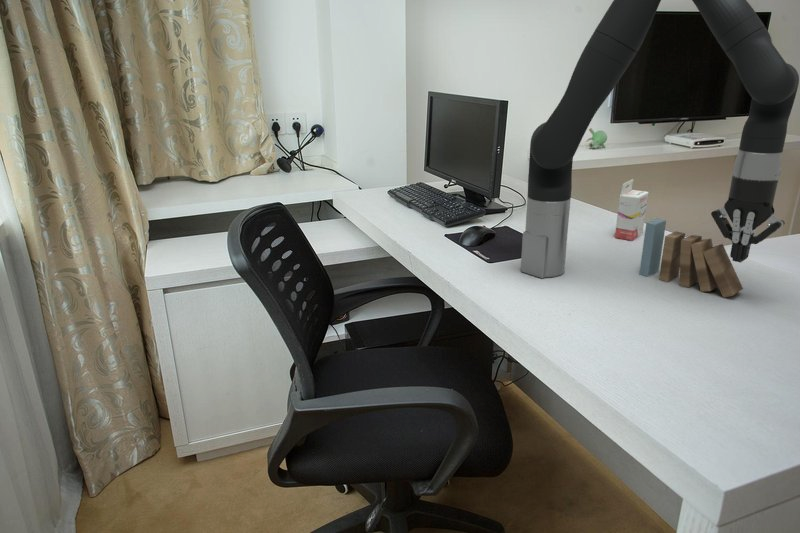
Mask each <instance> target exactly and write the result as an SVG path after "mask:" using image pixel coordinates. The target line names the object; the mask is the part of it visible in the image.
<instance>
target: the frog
mask: <svg viewBox="0 0 800 533" xmlns="http://www.w3.org/2000/svg"><path fill="white" fill-rule="evenodd" d="M588 131H589V132H590V133H591V135H592V137H590V138H588V139H587V140H586V141H585V142H586V143H587V142H589V141H590V142H589V143H588V145H589V147H590V148H591V149H592V150H594V149H595V150H596V149H598V147H599V146H601V147H602V148H603V149H606V147H607V146H606V145H605V143H606V142H607V141H608V134H607V133H606V131H603V130H597V131H596V132H595V131H594V130H593V129H592V128H591V127H590V128H589V129H588Z"/></svg>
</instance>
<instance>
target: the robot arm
mask: <svg viewBox="0 0 800 533" xmlns="http://www.w3.org/2000/svg"><path fill="white" fill-rule="evenodd" d="M661 1H662V0H613V1H612V2H611V3H610V6H609V7H608V9H607V10H606V12H605V13H604V15H603V16H602V19H601V20H600V22H599V23H598V24H597V26H596V28H595V29H594V31H593V33H592V35H591V36H590V38H589V40H588V41H587V43H586V45H585V47H584V49H583V50H582V51H581V52H582V53H581V54H580V56H579V59H578V61H577V62H576V65H575V66H574V69H573V72H572V74H571V76H570V80H569V82H568V85H567V86H566V90H565V91H564V94H563V96H562V98H561V100H560V101H559V103H558V104H557V106H555V109H554V110H553V112H552V113H551V115H550V116H549V117H548V119H547V120H546V121H544V122H543V123H541V124H540V125H539V126H537V127H536V128H535V129H534V131H533V132H532V135H531V138H530V145H529V158H528V159H529V160H528V162H529V163H528V177H527V178H528V180H527V196H526V197H527V199H526V211H525V212H526V213H525V214H526V215H525V228H524V230H525V231H523V233H522V239H521V240H522V242H521V244H522V245H521V258H520V272H521V273H522V272H523V273H524V274H529V275H531V276H534V277H538V278H540V279H544V278H553V277H555V278H556V277H559V276H561V275H563V274H564V273H565V265H566V257H567V256H566V254H567V245H568V243H567V242H568V235H569V234H568V232H569V223H570V222H569V221H570V220H569V219H570V212H571V211H570V210H571V200H572V199H571V198H572V190H573V189H572V188H573V184H572V180H573V178H572V177H573V176H572V175H573V174H572V172H573V160H574V156H575V155H576V153H577V150H578V148H579V146H580V144H581V142H582V139H583V137H584V135H585V134H586V132H587V129H588V128H589V126H590V124H591V122H592V120H593V118H594V116H595V115H596V114H597V111H598V110H599V108H601V106H602V105H603V104H604V102H605V100H607V98H608V97H609V95H610V94H611V93H612V91H613V90H614V88H615V87H616V86H617V84H618V82H619V81H620V79H621V78H622V76H623V75H625V74H624V73H625V72H626V71H627V70H628V68H629V66H630V64H631V63H632V62H633V60H634V58H635V57H636V55H637V53H638V52H639V50H640V48H641V47H642V45H643V43H644V40H645V38H646V36H647V34H648V32H649V31H650V30H649V29H650V28H651V25H652V24H653V21H654V17H655V15H656V13H657V11H658V8H659V6H660V4H661ZM691 2H693V5H694V6H696V8H697V10H698V11H699V14H701V17H702V18H703V19H704V22H705V24H706V25H707V27H708V28H709V30H710V32H711V33H712V35H713V37H714V38H715V39H716V41H717V43H718V44H719V46H720V47H721V49H722V50H723V52H724V53H725V55H726V56H727V57H728V59H729V60H730V62H732V64H733V65H734V69H735V70H736V72H737V75H738V76H739V79H740V81H741V82H742V85H743V86H744V88H745V90H746V92H747V93H748V94H749V96H750V97H751V100H750V107H749V112H748V116H747V117H748V118H747V119H746V121H745V123H744V126H743V127H742V128H743V129H742V131H741V136H740V143H739V148H738V151H737V155H736V158H735V159H734V160H735V161H734V165H733V171H732V177H731V181H730V182H731V183H730V186H729V192H728V199H727V200H726V202H725V203H724V205H723V207H721V208H718V209H715V210H713V211H712V212H711V217H712V218H713V220H714V222H715V223H716V225H717V227H718V229H719V231H720V233H721V235H722V236H723V238H725V239H728V240H730V241H731V242H732V245H731V248H730V249H731V250H730V254H729V255H730V256H729V257H730V258H731V259H732V260H731V262H732V261H733V262H737V263H739V264H740V263H742V262H744V261H745V260H747V259H748V258H749V254H750V249H751V245H758V244H759V243H761V242H763V241H765V240H766V239H767V238H768V237H770V236H771V235H772V234H774V233H776V232H777V231H778V230H779V229H781V228H782V227H784V226H785V224H786V223H785V221H784V220H783V219H779V218H778V217H777V216H776V214H775V208H774V201H775V197H776V193H777V186H778V182H779V178H780V176H781V172H782V169H781V168H782V163H783V162H782V161H783V152H784V147H785V143H786V137H787V131H788V122H789V119H790V116H791V113H792V109H793V106H794V102H795V100H796V96H797V92H798V88H799V84H800V83H799V82H800V77H799V76H800V75H799V73H798V71H797V69H796V68H795V67H794V66H793V65H791V64H790V63H787V62H786V61H785V59H784V58H783V57H782V55H781V53H780V52H779V51H778V50H777V48H776V47H775V46H774V43H773V42H772V41H773V40H772V37H771V34H770V32H769V31H768V29H767V28H766V26H765V24H764V23H763V21H762V20H761V18H760V17H759V15H758V14H757V12H756V11H755V9H754V8H753V7H752V5H751V4H750V3H749V2H748V1H747V0H691ZM727 217H729V220H730V221H731V223H732V225H731V223H730V221H729V220H728V218H727ZM767 220H768V222H767V223H766V229H764V230H763V231H762V232H760V233H759V234H758V235H755V234H756V233H757V230H758V228H759V227H760V226H762V225H764V223H765V222H766V221H767Z"/></svg>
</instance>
